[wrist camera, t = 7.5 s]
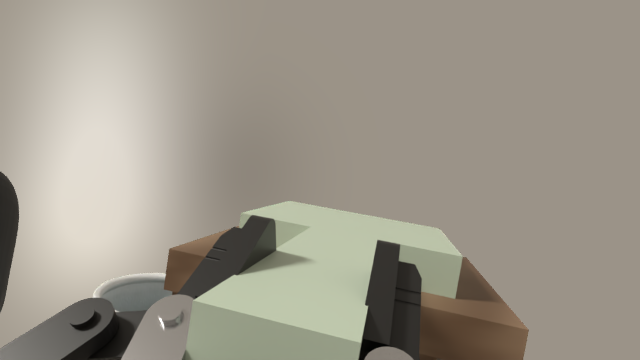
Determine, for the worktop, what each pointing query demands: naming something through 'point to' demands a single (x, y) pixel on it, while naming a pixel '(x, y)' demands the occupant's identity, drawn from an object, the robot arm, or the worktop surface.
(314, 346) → the green block
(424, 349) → the stool
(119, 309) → the utensil holder
